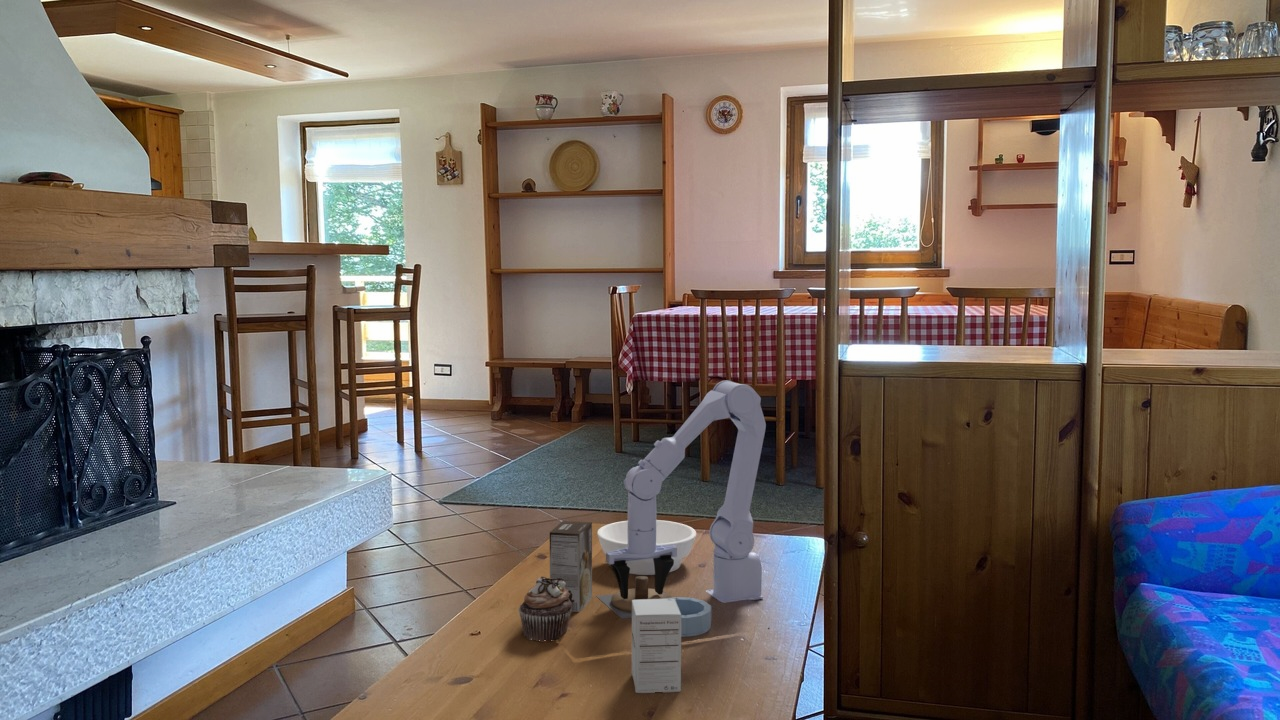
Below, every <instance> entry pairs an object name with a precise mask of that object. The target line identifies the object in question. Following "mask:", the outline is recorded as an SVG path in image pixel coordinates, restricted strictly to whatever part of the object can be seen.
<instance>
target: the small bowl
mask: <svg viewBox="0 0 1280 720" xmlns="http://www.w3.org/2000/svg"><path fill="white" fill-rule="evenodd" d="M671 597H672V598H665V599H675V600H676V603H677V605H678V608H679V610H680V613H681V638H682V637H684V638H685V637H694V636H700V635H704V634H705V633H707V632H708V631H710V629H711V626H712V605H711V604H709V603H708V602H707V601H705V600H702V599H698V598H693V597H685V596H683V597H682V596H674V597H673V596H671Z"/></svg>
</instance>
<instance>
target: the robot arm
mask: <svg viewBox="0 0 1280 720" xmlns="http://www.w3.org/2000/svg"><path fill="white" fill-rule="evenodd" d="M761 400H762V398H761V396H760V395H759V394H758V393H757V391H755V389H754V388H753V387H752V386H750V385H749V384H743V383H738V382H734V381H732V380H726V379H725V380H721V381H720V382H718V383H716V384H715V385H714V387H713V389H711V390H710V391H708V392H707V393H706V395H705V396H704V398H703V399H702V401H701V402H700V403H699V405H697V407H696V408H695V409H694V411H693V412H692V413H691V414H690V415H689V416H688V418H687V419H686V420H685V421H684V423H683V424H682V425H681V426H680V427H679V428H678V430H677V431H676V432H675V433H674V435H672V436H671V437H663V438H661V440H656V441H655V442H654V443H653V445H654V448H653V449H651V450H650V452H648V454H647V455H646V456H645V457H644V458H643V459H640V460H638V462H637V465H636V466H633V467H632V468H630V469H629V470H628V471H627V473H626V475H625V479H623V485H624V487H625V489H626V491H627V521H628V545H627V548H624V549H620V550H616V551H611V552H606V554H605V563H607V564H608V565H610V567H611V569H612V571H613V573H614V576H615V578H616V581H617V584H618V588H619V591H620V595H621V597H622V598H623V599H628V589H629V577H630V573H629V571H630V568H629V567H628V566H627V563H626V561H634V560H642V559H651V558H653V560H654V568H655V575H654V589H655V592H657V593H658V594H659V595H660V594H662V593H663V591H664V588H665V584H666V581H667V577H668V575H669V574H670V572H669V571H670V570H671V568H672V566H673V565H674V560H673V559H672V558H671V557H677V547H676V546H674V545H656V520H657V509H658V508H657V506H658V505H657V495H658V494H660V492H661V489H662V486H663V485H662V483H663V482H664V481H665V480H666V479H667V477H669V475H670V474H671V473H672V472H673V471H674V470H675V469H676V468H677V467H678V465H680V463H682V461H683V460H684V459H685V457H686V448H687V447H688V446H690V444H691V443H692V442H693V441H694V440H696V438H697V437H698V436H699V435H701V433H702V432H703V431H704V430H705V429H706V428H707V427H708V426H710V424H712V422H714V421H718V420H725V419H730V420H731V422H733V424H734V425H735V426H736V428H737V436H736V441H735V446H734V450H733V457H732V459H731V460H732V461H731V466H730V469H729V470H730V471H729V474H728V475H729V477H728V481H727V486H726V491H725V492H726V493H725V497H724V500H723V501H724V502H723V505H722V506H721V507H720V508H718V510H717V514H716V517H715V518H714V521H713V522H712V523H711V524H710V527H709V538H710V540H711V542H712V543H713V544H714V549H713V570H712V571H713V572H712V573H713V575H712V576H713V577H712V578H713V579H712V580H713V581H712V589H707V590H705V592H706V593H707V594H709V595H710V596H712V597H713V598H715V600H716V599H717V601H719V602H721V603H722V604H725V603H731V602H732V603H733V602H737V601H744V600H750V601H756V600H763V599H764V595H762V579H763V578H762V575H763V574H762V570H763V567H762V562H761V558H760V556H759V555H758V554H757V553H756V552H754V551H752V550H753V548H754V545H755V537H754V534H753V531H754V530H753V529H754V520H753V517H752V513H751V511H750V509H751V505H752V500H753V494H754V490H755V484H756V479H757V476H758V475H757V474H758V471H759V470H758V469H759V465H760V460H761V454H762V448H763V445H764V444H763V443H764V439H765V433H766V427H767V424H766V420H765V416H764V412H763V410H762V406H761Z"/></svg>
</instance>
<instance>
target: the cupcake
mask: <svg viewBox="0 0 1280 720" xmlns="http://www.w3.org/2000/svg"><path fill="white" fill-rule="evenodd" d="M565 585H566V583H565V582H564V580H563V579H562V578H550V577H548V578H547V577H546V576H540V577H538V578H537V579H536V580H535V585H534V586H533V587H531V588H530V589H528V592H527V593H525V595H524V601H523V602H522V603H521V604H519V607H518V613H519V617H520V622H521V626H522V632H523V633H522V634H523V636H525V637H524V638H526V639H527V638H528V639H527V640H529V639H532V640H531V641H533V640H536V641H535V642H537V641H539V640H540V641H544V640H546V641H548V642H552V641H551V640H555V641H558V640H559V637H561V636H563V635H565V634H566V633H567V632H568V627H569V621H570V618H571V614H572V611H571V610H572V602H571V601H570V599H569V598H568V597H569V592H568V591H567V590H566V589H565Z"/></svg>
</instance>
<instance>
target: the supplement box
mask: <svg viewBox="0 0 1280 720" xmlns="http://www.w3.org/2000/svg"><path fill="white" fill-rule="evenodd" d="M631 676H632V679H633V685H634V691H635V693H636V694H652V693H653V694H654V693H655V692H663V693H679V692H682V637H681V613H680V610H679V608H678V605H677V603H676V600H675V599H638V600H632V618H631ZM655 694H656V693H655Z"/></svg>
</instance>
